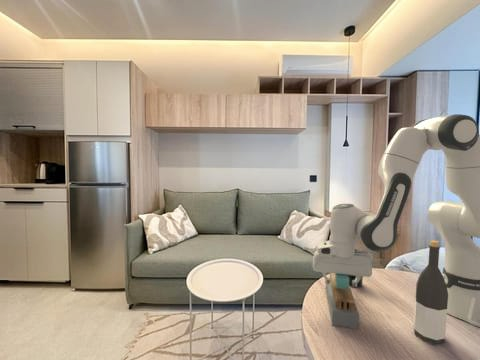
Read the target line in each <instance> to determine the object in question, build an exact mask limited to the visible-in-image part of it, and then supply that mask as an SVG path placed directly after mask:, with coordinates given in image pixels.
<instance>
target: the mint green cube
mask: <svg viewBox="0 0 480 360" xmlns="http://www.w3.org/2000/svg"><path fill="white" fill-rule="evenodd" d="M335 284H336V287H337V288H338V289H347V290H349V286H350V285H349V277H348V275H345V274H336V276H335Z"/></svg>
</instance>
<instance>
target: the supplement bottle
mask: <svg viewBox="0 0 480 360" xmlns="http://www.w3.org/2000/svg"><path fill="white" fill-rule="evenodd" d="M348 277H349V286H350V287H353V286H352V280H355V279H356V276H355V275H348ZM363 278H364V276H361V279H360V281H359V282H358V283H357V287H356V288H358V287H362V286H363V284H364V283H363Z"/></svg>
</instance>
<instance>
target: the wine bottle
mask: <svg viewBox="0 0 480 360" xmlns="http://www.w3.org/2000/svg"><path fill="white" fill-rule="evenodd" d="M428 245H429V246H428V247H429V251H428V263H427V266H425V268H424V269H422V271H421V273H420V274H419V275H418V278H417V281H416V285H415V286H416V287H415V299H414V300H415V302H414V319H413V320H414V321H413V330H414V331H413V332H414V335H415V336H416V337H418V338H419V339H420V340H422V341H423V342H426V343H429V344H432V345H434V346H435V345H436V346H437V345H443V344H445V342H446V341H445V340H446V330H447V315H448V313H447V304H448V291H447V286H446V283H445V280H444V278H443V273H442V272H441V270H440V268H439V261H440V260H439V259H440V249H441V246H440V242H439V240H430V243H429V244H428Z"/></svg>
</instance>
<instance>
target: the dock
mask: <svg viewBox="0 0 480 360" xmlns="http://www.w3.org/2000/svg"><path fill="white" fill-rule="evenodd" d="M328 278H329V279H330V277H328ZM329 283H330V282H329ZM325 293H326V298H327V305H328V310H329V314H330V321H331V326H336V327H341V328H350V329H357V330H358V329H359V323H360V322H359V320H360V314H359V311H358V308H357V305H356V303H355V302H354V310H349V309H348V305H347V310H346V309H343V306H342V302H341V309H339V308H336V306H335V301H334V297H333V292H332V288H331V283H330V284H325Z"/></svg>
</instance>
